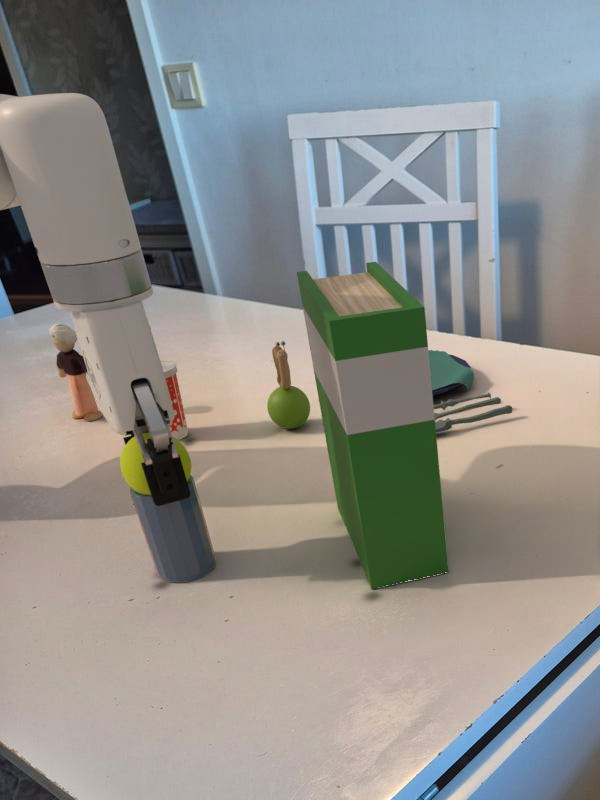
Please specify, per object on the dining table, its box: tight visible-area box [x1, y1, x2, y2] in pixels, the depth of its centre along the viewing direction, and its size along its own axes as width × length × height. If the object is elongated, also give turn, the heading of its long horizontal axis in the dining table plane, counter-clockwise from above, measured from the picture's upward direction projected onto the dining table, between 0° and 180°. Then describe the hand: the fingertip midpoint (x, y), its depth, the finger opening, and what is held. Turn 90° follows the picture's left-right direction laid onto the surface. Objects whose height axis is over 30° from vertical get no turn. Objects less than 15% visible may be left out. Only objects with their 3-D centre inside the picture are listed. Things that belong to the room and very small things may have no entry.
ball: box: [119, 433, 192, 496], centre depth 76 cm, size 6×6×6 cm
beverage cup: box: [160, 359, 189, 441], centre depth 106 cm, size 6×6×14 cm
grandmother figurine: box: [48, 323, 104, 422], centre depth 114 cm, size 8×4×13 cm, turn 72°
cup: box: [129, 473, 217, 584], centre depth 79 cm, size 6×6×9 cm
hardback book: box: [296, 261, 450, 590], centre depth 78 cm, size 18×7×24 cm, turn 18°
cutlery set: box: [428, 349, 513, 434], centre depth 116 cm, size 20×30×2 cm, turn 25°
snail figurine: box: [266, 340, 311, 430], centre depth 106 cm, size 5×6×12 cm
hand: (162, 485), depth 77 cm, fingers open, 6 cm apart
